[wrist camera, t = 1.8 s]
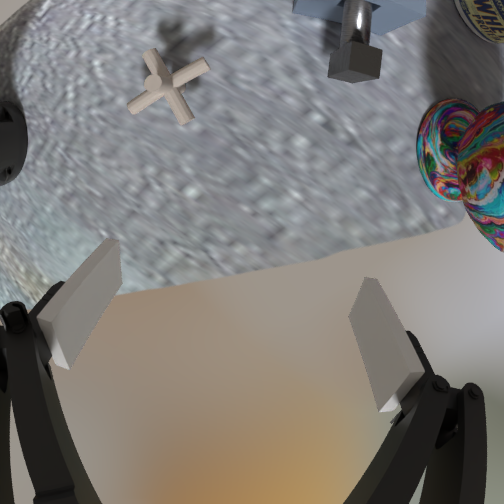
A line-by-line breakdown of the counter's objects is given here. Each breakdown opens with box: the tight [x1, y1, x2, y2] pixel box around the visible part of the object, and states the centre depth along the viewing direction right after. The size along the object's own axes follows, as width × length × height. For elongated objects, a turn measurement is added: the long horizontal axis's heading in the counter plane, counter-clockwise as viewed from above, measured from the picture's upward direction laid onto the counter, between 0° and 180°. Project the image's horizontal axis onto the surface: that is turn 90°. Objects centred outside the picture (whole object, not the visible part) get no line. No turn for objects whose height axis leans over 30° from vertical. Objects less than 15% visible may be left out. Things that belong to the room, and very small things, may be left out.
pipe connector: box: [127, 48, 210, 125], centre depth 27 cm, size 10×10×10 cm
